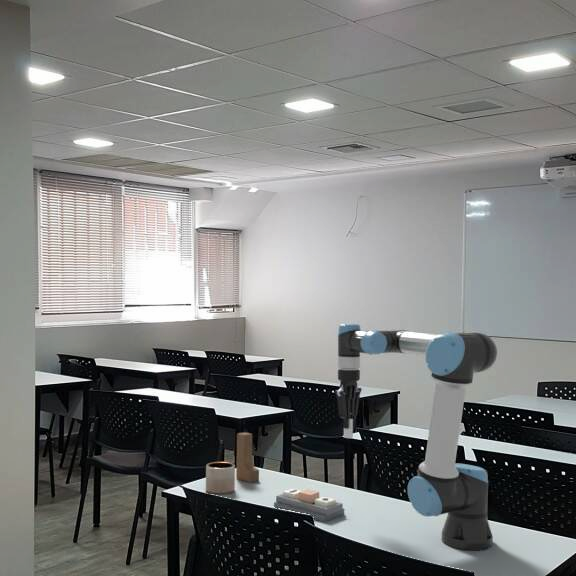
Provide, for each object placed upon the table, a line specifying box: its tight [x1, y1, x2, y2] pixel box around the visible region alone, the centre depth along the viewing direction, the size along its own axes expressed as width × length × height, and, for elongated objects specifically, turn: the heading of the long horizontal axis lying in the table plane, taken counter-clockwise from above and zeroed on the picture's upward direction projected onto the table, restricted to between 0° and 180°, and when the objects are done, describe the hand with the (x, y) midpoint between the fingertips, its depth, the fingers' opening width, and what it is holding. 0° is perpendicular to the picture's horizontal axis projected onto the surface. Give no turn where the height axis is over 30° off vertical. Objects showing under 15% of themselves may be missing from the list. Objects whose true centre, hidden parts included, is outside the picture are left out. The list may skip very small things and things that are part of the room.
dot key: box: [315, 496, 337, 508], centre depth 242 cm, size 5×5×3 cm
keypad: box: [273, 493, 345, 523], centre depth 246 cm, size 22×11×4 cm, turn 50°
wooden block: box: [235, 431, 260, 483], centre depth 286 cm, size 9×4×18 cm, turn 44°
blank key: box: [299, 489, 320, 504], centre depth 246 cm, size 5×5×3 cm
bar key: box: [282, 488, 302, 500], centre depth 251 cm, size 5×5×3 cm
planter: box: [205, 461, 236, 495], centre depth 270 cm, size 11×11×10 cm
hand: (348, 437), depth 247 cm, fingers closed
